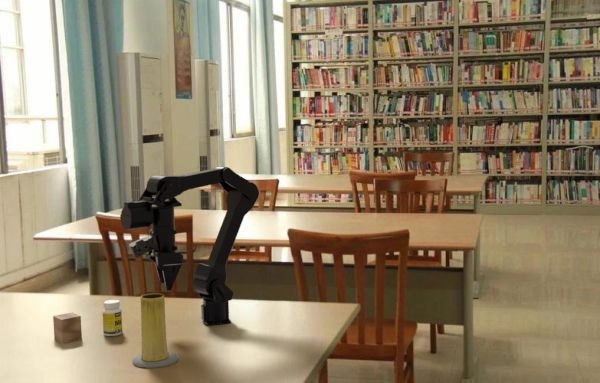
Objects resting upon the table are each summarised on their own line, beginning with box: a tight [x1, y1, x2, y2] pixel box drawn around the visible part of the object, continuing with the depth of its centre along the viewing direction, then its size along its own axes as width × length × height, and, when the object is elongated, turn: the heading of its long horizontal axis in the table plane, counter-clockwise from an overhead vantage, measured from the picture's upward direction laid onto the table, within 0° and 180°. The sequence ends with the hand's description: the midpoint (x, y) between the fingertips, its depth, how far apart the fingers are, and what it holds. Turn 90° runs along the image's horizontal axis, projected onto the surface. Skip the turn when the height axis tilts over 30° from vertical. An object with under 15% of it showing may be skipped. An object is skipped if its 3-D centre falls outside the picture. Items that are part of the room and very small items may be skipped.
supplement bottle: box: [102, 299, 123, 337], centre depth 190 cm, size 5×5×8 cm
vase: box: [140, 292, 169, 362], centre depth 168 cm, size 6×6×14 cm
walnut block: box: [52, 312, 83, 344], centre depth 186 cm, size 5×5×6 cm
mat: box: [132, 351, 179, 369], centre depth 168 cm, size 10×10×1 cm
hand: (165, 286), depth 189 cm, fingers open, 9 cm apart
